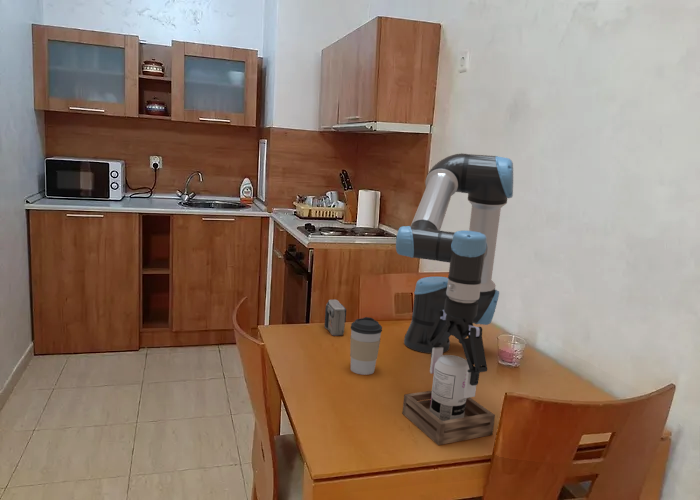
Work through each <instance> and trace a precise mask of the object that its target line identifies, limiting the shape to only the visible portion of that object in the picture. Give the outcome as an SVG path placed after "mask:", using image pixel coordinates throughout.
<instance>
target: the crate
mask: <svg viewBox="0 0 700 500" xmlns="http://www.w3.org/2000/svg"><path fill="white" fill-rule="evenodd" d="M431 394H432V390H428V391H420V392H419V391H418V392H413V393H412V392H411V393H407V394H406V393H405V394H404V396H403V404H402V411H401V413H402V415H403V416H405V417H406V418H407V419H408V420H409V421H410V422H411V423H413V424H414V425H415V426H416V427H417V428H418V429H419V430H421V432H423V433H424V434H425V435H426V436H427V437H428V438H429V439H430V440H432V441H433V442H434V443H435V444H436V445H437V446H440V445H446V444H451V443H456V442H461V441H467V440H472V439H477V438H481V437H486V436H492V435H493V433H494V425H495V418H496V414H495V413H494V412H491V410H489V409H487V408H485V406H483V405H481V404H480V403H479V402H477V401H476V400H474V399H473V398H472V397H469V398H466V406H465V413H464V417H463V418H457V419H452V420H446V421H441V420H440V419H439V418H438V417H436V416H435V415H434V414H433V413H431V412H430V402H431Z"/></svg>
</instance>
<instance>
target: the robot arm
mask: <svg viewBox="0 0 700 500" xmlns="http://www.w3.org/2000/svg"><path fill="white" fill-rule="evenodd" d="M424 183H425V190H424V192H423V194H422V197H421V200H420V202H419V204H418V207H417V210H416V212H415V214H414V217H413V219H412V222H411V224H410V225H407V226H406V225H405V226H404V225H402V226H400V227H399V228H398V230H397V234H396V240H395V251H396V253H397V255H399V256H404V257H408V258H411V259H413V258H415V259H422V260H430V261H437V262H443V263H449V267H448V268H449V269H448V276H447V277H446V276H425V277H422V278H419V279H418V280H417V281H416V283H415V287H414V288H415V289H414V292H413V293H414V299H413V304H412V305H413V307H412V316H411V322H410V323H409V326H408V329H407V331H406V333H405V335H404V338H403V339H404V340H403V344H404V345H405V346H406V347H407V348H408V349H411V350H414V351H416V352H419V353H420V352H421V353H427V354H430V358H431V359H430V366H429V367H430V368H429V373H430V374H432V375H433V374H434V368H435V363H436V362H437V360H438V358H439V357H440V356H443V355H444V353H446V352H448V351H449V350H450V345H451V340H450V336H451V337H454V338H455V339H457V340H458V343H460V344H461V346H462V349H463V352H464V355H465V359H466V360H467V363H468V366H469V370H467V373H466V380H465V388H464V395H463V397H464V398H469V397H470V398H475V397H476V392H477V391H476V390H477V386H478V384H479V381H480V379H479V378H480V374H481V373H485V372H487V371H488V365H487V358H486V352H485V347H484V342H483V341H484V340H483V327H482V326H474V325H483V326H488V325H489V324H490V325H491V323H492V321H493V318H494V315H495V312H496V309H497V304H498V300H499V296H500V291H499V290H497V289H496V286H497V285H496V283H495V282H494V281H493V280H492V278H493V270H494V262H495V256H496V255H495V254H496V247H497V239H498V234H499V233H498V231H499V225H500V224H499V223H500V217H501V211H502V210H501V209H502V208H503V207H504V206H505V205H506V204H507V203H508V199H511V198H513V196H514V163H513V161H512V159H510V158H508V157H504V156H499V155H487V154H486V155H485V154H472V153H471V154H468V153H462V152H461V153H455V154H452V155H449V156H447V157H445V158H443V159H441V160H439V161H438V162H437V163H435V164H434V165H433V166H432V167H431V169H429V171H428V173H427V176H426V178H425V182H424ZM456 193H463V194H467V201H468V202H469V203H470V204H471V211H470V212H471V213H470V218H469V219H470V220H469V227H468V229H469V230H457V231H455V232H453V231H448V230H447V231H445V230H441V229H442V225H443V222H444V220H445V217H446V213H447V210H448V207H449V204H450V201H451V198H452V196H454V195H455V194H456Z"/></svg>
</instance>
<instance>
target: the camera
mask: <svg viewBox="0 0 700 500" xmlns="http://www.w3.org/2000/svg"><path fill="white" fill-rule="evenodd" d="M346 322H347V308H346V307H345V306H344V305H343V304H342V303H340V301H339V300H338V299H328V302H326V304H325V314H324V328H325V329H326V330H328V332H329V333H330V335H331V336H333V337H335V336H343V335H344V333H345V325H346Z"/></svg>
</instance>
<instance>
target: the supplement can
mask: <svg viewBox="0 0 700 500" xmlns="http://www.w3.org/2000/svg"><path fill="white" fill-rule="evenodd" d="M467 370H469V366H468V363H467V359H466V358H465V357H464V358H463V357H461V356H458V355H454V354H453V355H451V354H443V356H440V357H439V358H438V360H437V362H436V363H435V368H434V373H433V378H432V388H431V391H432V394H431V399H430V400H431V402H430V412H431V413H433V414H434V415H435V416H436V417H438V418H439V419H440V420H441V421H446V420H452V419H457V418H463V417H464V413H465V406H466V398H464V397H463V395H464V388H465V380H466V373H467Z"/></svg>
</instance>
